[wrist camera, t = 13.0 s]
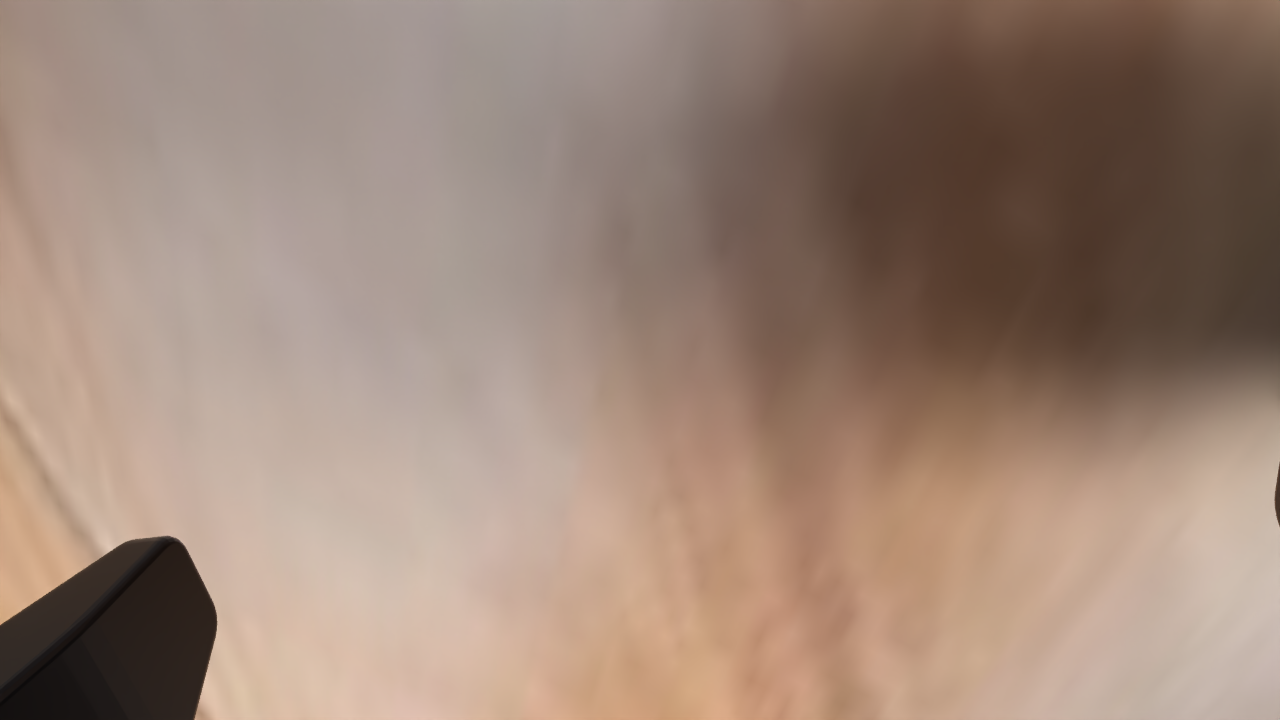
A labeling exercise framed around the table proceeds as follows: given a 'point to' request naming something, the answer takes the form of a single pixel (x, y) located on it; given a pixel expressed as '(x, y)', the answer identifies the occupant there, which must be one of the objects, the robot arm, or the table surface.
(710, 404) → the table surface
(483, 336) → the table surface
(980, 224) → the table surface
